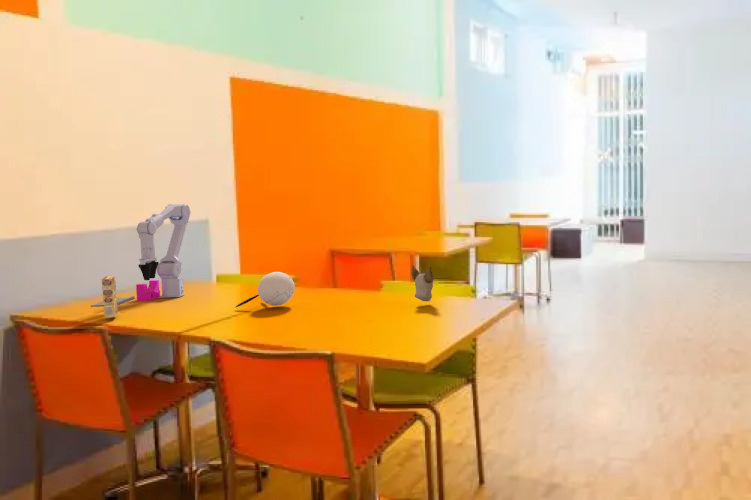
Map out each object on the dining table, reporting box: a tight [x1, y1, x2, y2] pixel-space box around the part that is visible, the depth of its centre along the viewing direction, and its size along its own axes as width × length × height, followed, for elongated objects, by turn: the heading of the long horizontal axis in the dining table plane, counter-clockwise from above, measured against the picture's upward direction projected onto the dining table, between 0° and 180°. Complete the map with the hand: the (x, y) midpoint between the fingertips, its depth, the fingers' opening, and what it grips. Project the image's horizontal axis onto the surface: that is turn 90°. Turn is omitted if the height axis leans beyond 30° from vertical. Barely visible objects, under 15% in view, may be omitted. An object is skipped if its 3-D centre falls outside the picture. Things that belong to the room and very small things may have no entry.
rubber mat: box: [90, 296, 136, 307], centre depth 318 cm, size 11×20×1 cm, turn 177°
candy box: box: [101, 275, 119, 319], centre depth 282 cm, size 9×4×15 cm, turn 13°
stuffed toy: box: [235, 271, 295, 308], centre depth 295 cm, size 19×14×25 cm
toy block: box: [135, 279, 161, 302], centre depth 328 cm, size 15×6×8 cm, turn 172°
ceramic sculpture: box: [410, 265, 434, 302], centre depth 289 cm, size 11×9×15 cm
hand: (149, 279), depth 316 cm, fingers open, 6 cm apart
